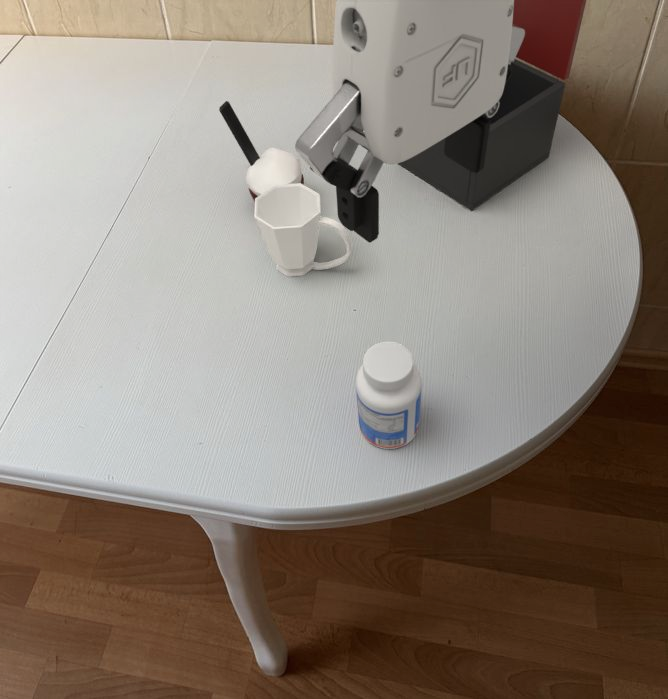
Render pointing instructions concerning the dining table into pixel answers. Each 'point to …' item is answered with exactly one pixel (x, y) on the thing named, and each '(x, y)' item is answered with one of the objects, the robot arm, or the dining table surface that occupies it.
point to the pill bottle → (388, 395)
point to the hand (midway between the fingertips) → (412, 195)
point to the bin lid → (549, 33)
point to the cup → (294, 228)
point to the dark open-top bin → (500, 140)
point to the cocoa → (263, 159)
